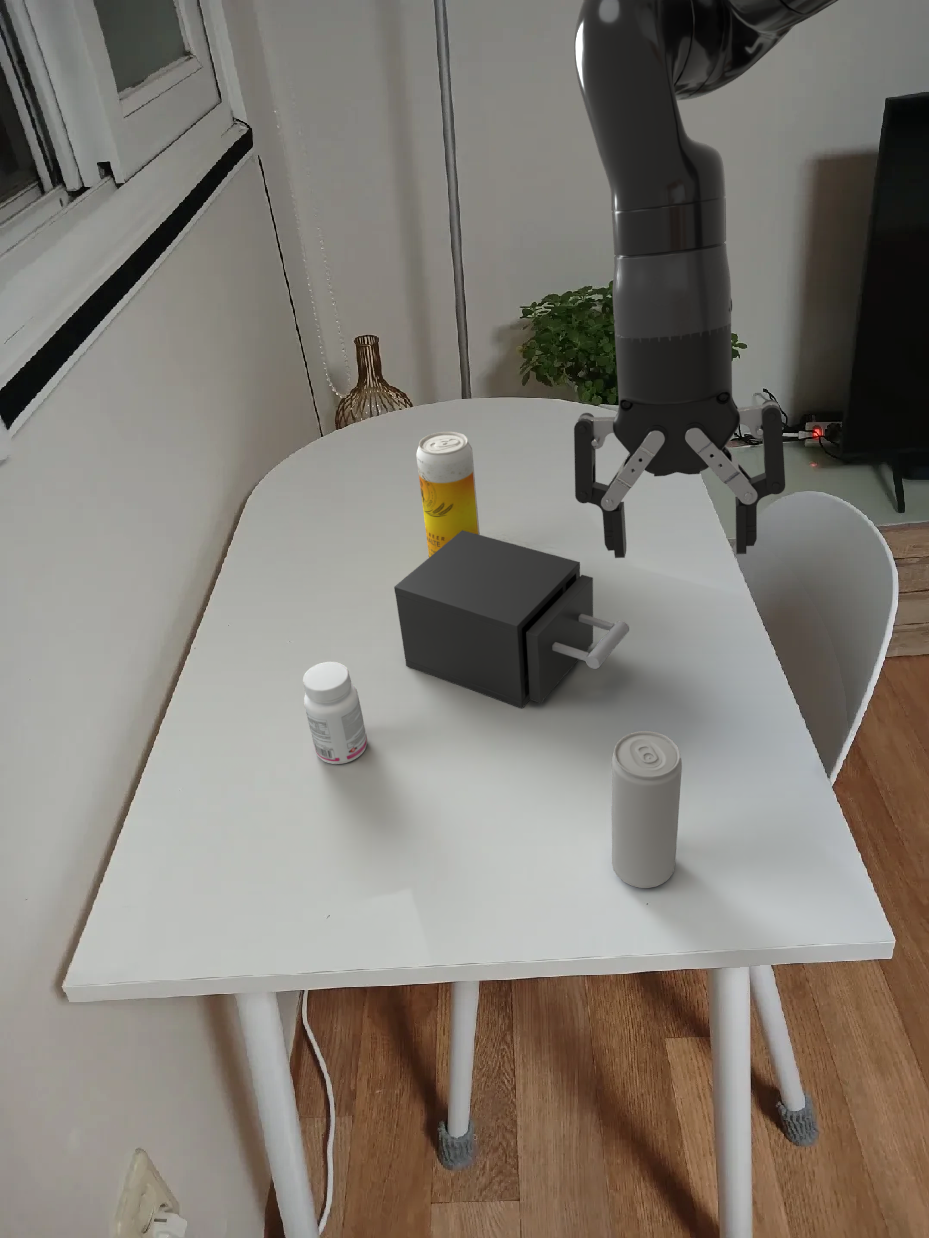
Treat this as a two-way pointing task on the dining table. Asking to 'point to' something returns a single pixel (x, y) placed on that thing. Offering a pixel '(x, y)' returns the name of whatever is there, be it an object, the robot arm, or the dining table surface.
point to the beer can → (447, 487)
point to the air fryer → (478, 612)
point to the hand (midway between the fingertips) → (680, 552)
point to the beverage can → (645, 808)
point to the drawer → (565, 637)
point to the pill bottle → (334, 713)
